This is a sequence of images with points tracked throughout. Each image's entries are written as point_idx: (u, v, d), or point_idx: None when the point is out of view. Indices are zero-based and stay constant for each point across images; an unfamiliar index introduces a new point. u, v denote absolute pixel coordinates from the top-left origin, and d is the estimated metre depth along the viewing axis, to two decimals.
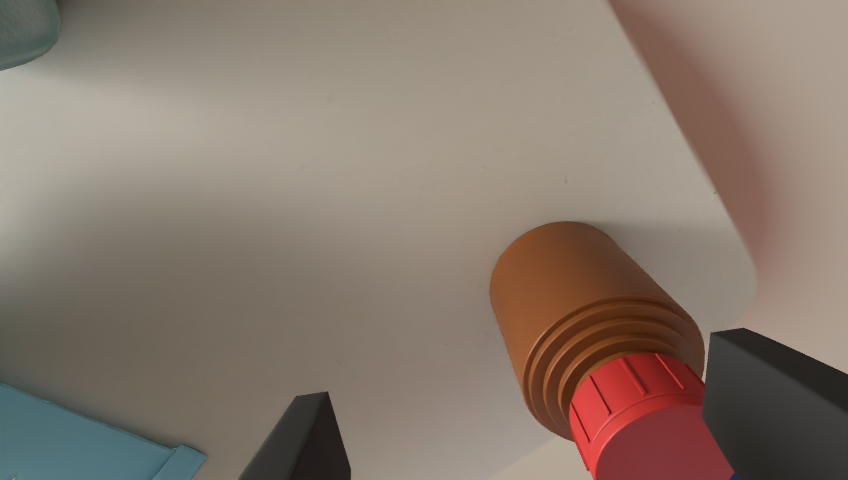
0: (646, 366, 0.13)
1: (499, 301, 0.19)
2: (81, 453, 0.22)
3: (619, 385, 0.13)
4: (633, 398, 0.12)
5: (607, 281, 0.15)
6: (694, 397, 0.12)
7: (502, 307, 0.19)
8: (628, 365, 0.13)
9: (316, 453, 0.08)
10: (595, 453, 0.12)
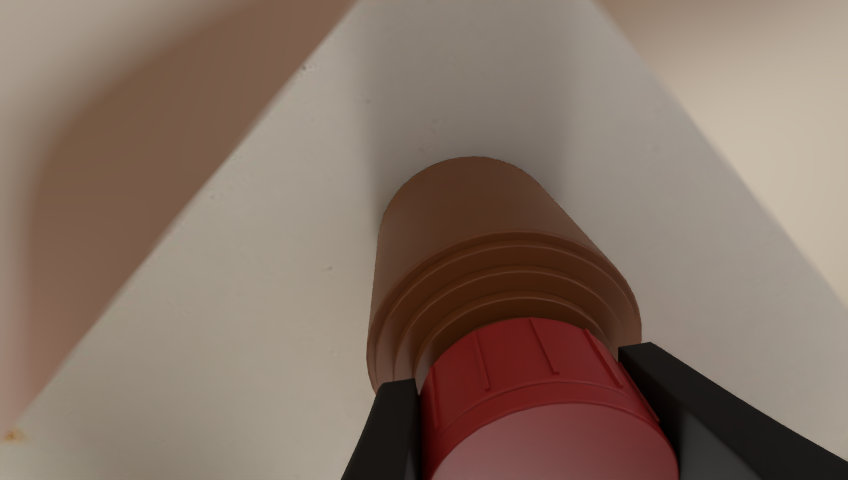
0: None
1: None
2: None
3: None
4: None
5: None
6: None
7: None
8: None
9: (416, 438, 0.08)
10: None
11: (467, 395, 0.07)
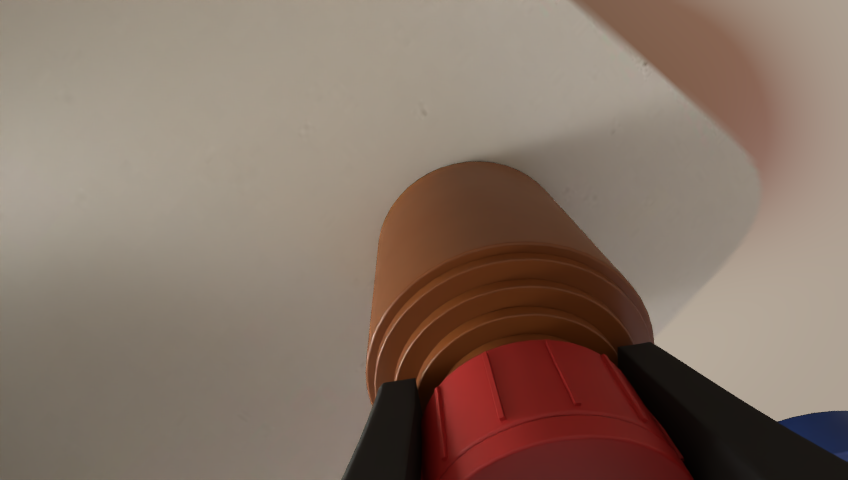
0: None
1: None
2: None
3: None
4: None
5: (444, 241, 0.10)
6: None
7: None
8: None
9: (416, 437, 0.08)
10: None
11: (478, 424, 0.07)
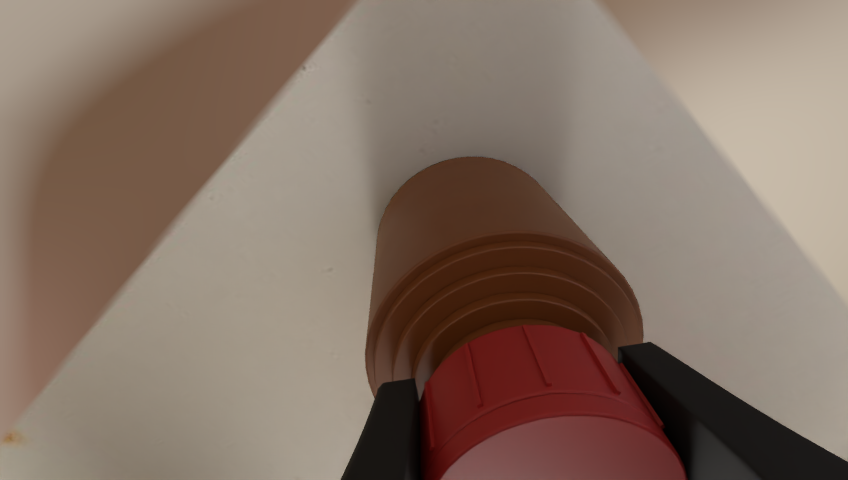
0: None
1: None
2: None
3: None
4: None
5: None
6: None
7: None
8: None
9: (416, 438, 0.08)
10: (622, 411, 0.07)
11: None
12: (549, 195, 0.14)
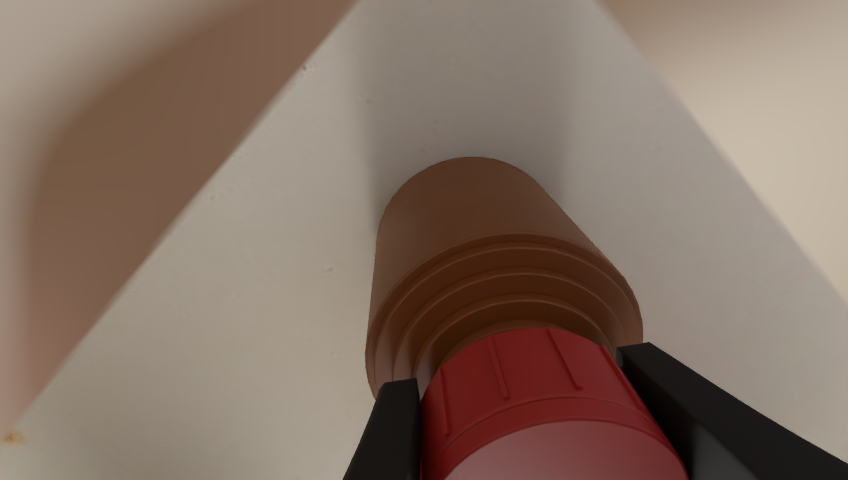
0: (587, 354, 0.08)
1: None
2: None
3: (538, 362, 0.07)
4: (558, 388, 0.07)
5: None
6: (653, 426, 0.07)
7: None
8: (560, 342, 0.08)
9: (418, 438, 0.08)
10: (451, 457, 0.07)
11: None
12: (540, 188, 0.14)
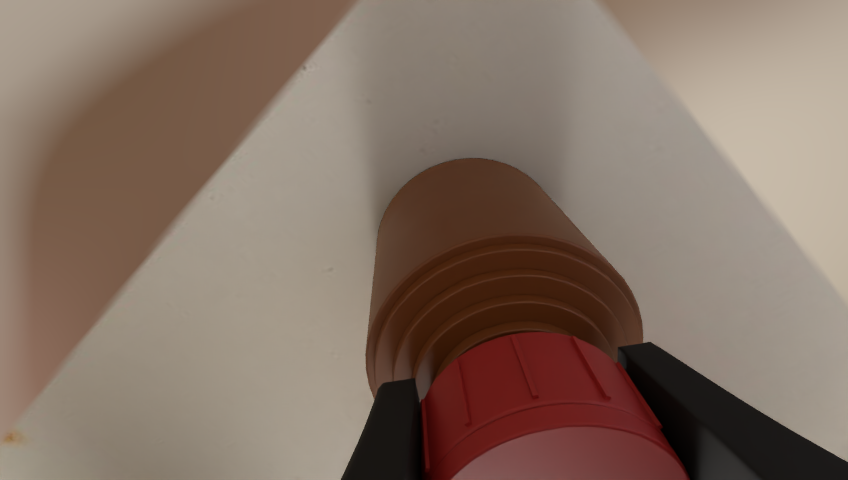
0: (439, 400, 0.08)
1: None
2: None
3: (421, 457, 0.08)
4: None
5: None
6: (480, 433, 0.06)
7: None
8: (426, 410, 0.08)
9: (416, 438, 0.08)
10: None
11: (576, 389, 0.07)
12: (528, 182, 0.13)
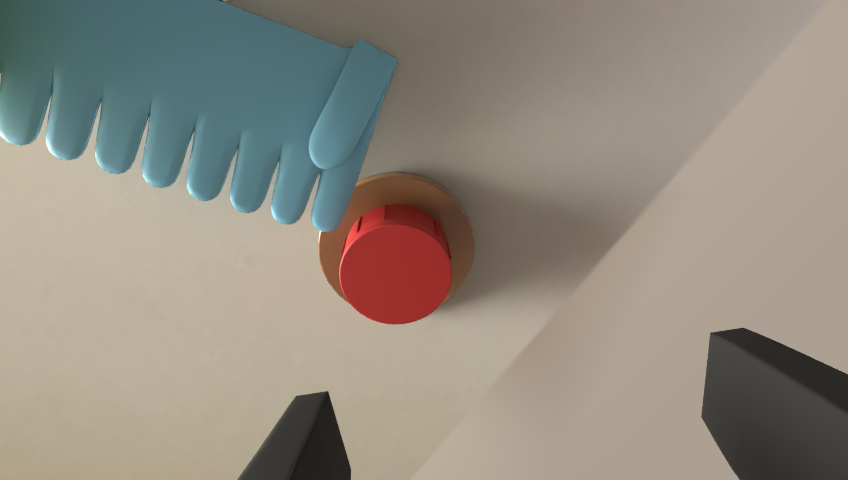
0: (350, 232, 0.17)
1: None
2: (229, 61, 0.15)
3: None
4: None
5: None
6: (360, 233, 0.16)
7: None
8: (346, 240, 0.18)
9: (316, 453, 0.08)
10: None
11: (402, 218, 0.17)
12: None
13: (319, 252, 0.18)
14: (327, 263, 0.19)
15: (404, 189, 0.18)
